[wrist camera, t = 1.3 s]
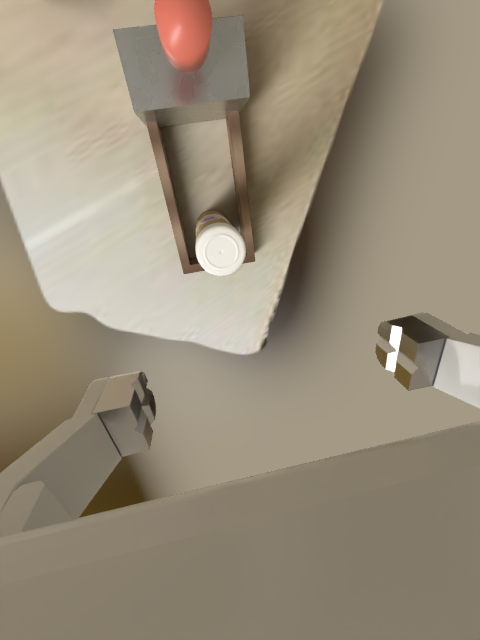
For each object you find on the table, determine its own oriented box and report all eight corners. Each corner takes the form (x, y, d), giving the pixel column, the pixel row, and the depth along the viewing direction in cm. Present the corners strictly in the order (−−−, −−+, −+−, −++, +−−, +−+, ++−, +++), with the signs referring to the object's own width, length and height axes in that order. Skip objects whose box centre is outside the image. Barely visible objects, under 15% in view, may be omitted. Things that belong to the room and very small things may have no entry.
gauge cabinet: (133, 69, 27) (112, 29, 20) (232, 57, 28) (245, 15, 21) (148, 128, 29) (134, 112, 22) (238, 116, 30) (252, 96, 23)
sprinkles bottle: (216, 202, 34) (229, 214, 22) (235, 233, 36) (256, 259, 24) (187, 223, 34) (184, 245, 23) (207, 252, 36) (214, 286, 25)
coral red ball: (154, 9, 17) (147, -23, 14) (203, 4, 17) (206, -29, 14) (167, 75, 18) (163, 57, 16) (213, 69, 19) (216, 51, 16)
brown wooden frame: (150, 128, 29) (146, 123, 27) (234, 117, 30) (238, 110, 27) (184, 267, 37) (183, 274, 34) (250, 255, 38) (255, 261, 35)
